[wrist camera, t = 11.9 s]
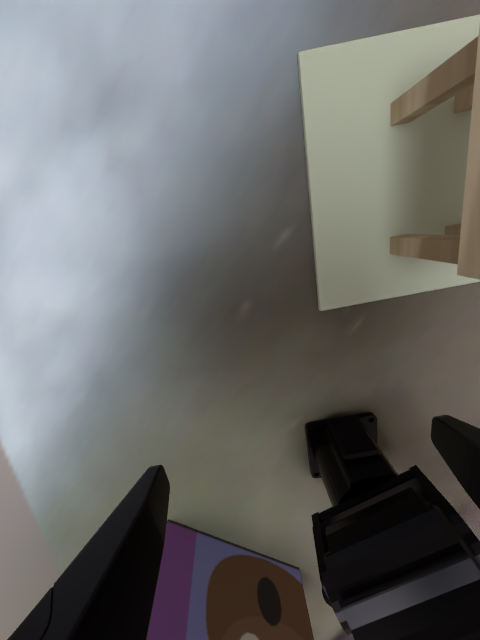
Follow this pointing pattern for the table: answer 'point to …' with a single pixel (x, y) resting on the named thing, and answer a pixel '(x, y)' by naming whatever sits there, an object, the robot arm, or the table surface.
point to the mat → (381, 162)
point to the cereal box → (224, 592)
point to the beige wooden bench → (470, 94)
